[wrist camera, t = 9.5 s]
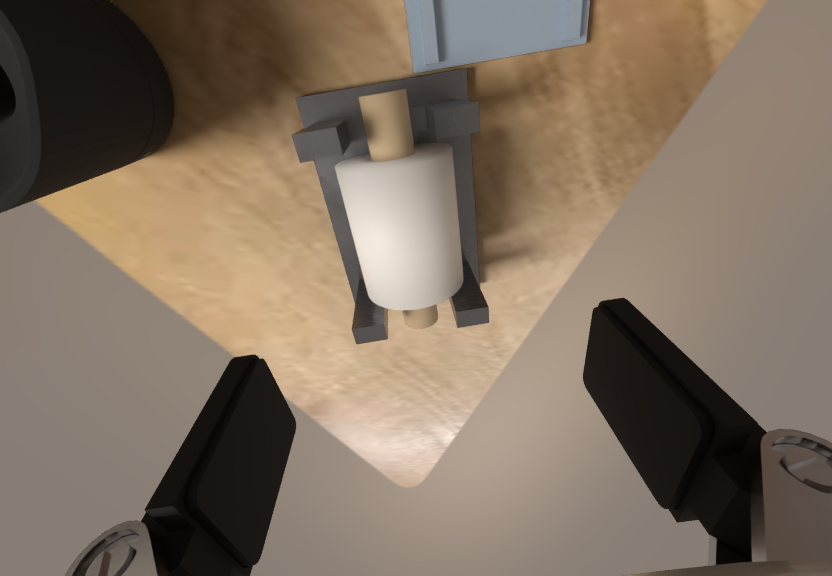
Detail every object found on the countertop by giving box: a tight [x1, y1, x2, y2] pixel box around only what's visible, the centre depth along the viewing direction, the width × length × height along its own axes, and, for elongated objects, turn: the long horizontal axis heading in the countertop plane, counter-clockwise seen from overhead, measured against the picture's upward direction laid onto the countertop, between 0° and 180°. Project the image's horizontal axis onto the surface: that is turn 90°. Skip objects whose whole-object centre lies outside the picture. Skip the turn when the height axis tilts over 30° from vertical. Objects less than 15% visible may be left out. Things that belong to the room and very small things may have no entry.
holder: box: [292, 68, 489, 344], centre depth 21 cm, size 15×10×7 cm, turn 9°
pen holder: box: [0, 0, 174, 213], centre depth 15 cm, size 9×9×10 cm
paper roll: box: [335, 89, 464, 329], centre depth 21 cm, size 14×6×6 cm, turn 9°
